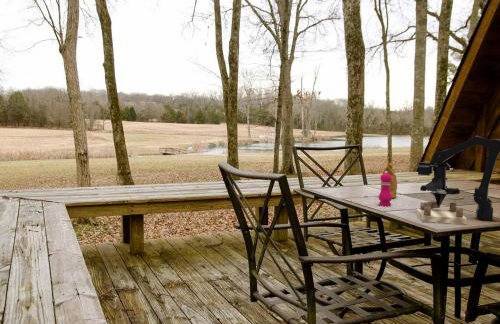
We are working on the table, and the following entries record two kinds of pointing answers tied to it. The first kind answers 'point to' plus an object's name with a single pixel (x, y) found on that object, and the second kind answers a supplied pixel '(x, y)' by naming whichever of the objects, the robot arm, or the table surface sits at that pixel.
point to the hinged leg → (430, 204)
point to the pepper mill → (385, 190)
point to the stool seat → (442, 215)
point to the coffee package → (393, 180)
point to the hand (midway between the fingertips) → (439, 206)
